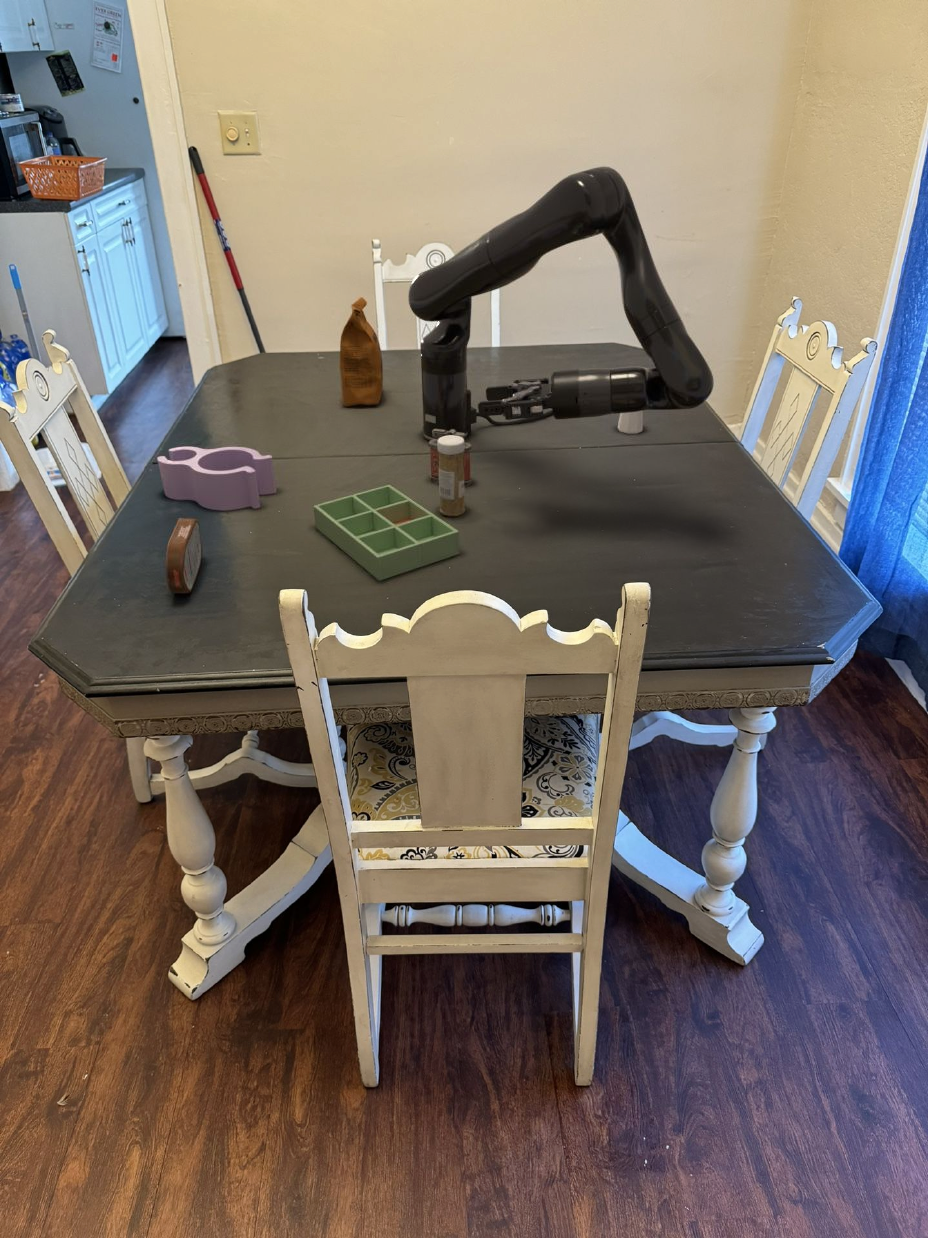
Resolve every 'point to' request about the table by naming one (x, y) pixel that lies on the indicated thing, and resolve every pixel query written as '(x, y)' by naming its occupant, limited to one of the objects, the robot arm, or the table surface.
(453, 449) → the sprinkles bottle
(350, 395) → the coffee package
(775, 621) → the table surface
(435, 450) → the lighter
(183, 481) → the clip
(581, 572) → the table surface
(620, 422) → the pepper shaker
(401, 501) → the organizer
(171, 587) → the tin
